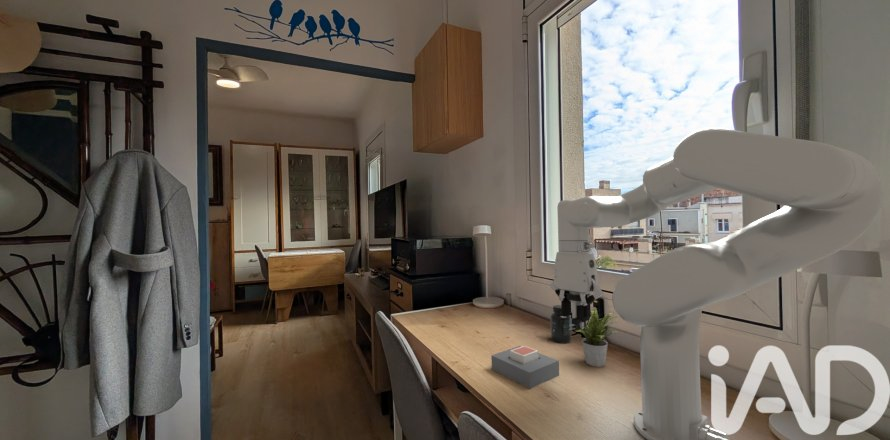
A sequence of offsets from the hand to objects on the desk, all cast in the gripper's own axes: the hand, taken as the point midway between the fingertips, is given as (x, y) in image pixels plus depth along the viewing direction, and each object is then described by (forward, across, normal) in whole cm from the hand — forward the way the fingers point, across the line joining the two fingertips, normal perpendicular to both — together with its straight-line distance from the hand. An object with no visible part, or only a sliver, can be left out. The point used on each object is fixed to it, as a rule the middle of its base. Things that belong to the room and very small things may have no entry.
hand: (575, 317), depth 82 cm
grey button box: (+17, +13, +5) cm, 22 cm away
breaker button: (+15, +13, +5) cm, 21 cm away
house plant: (+18, +3, -16) cm, 24 cm away
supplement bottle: (+18, +22, -25) cm, 38 cm away
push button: (+3, 0, 0) cm, 3 cm away
